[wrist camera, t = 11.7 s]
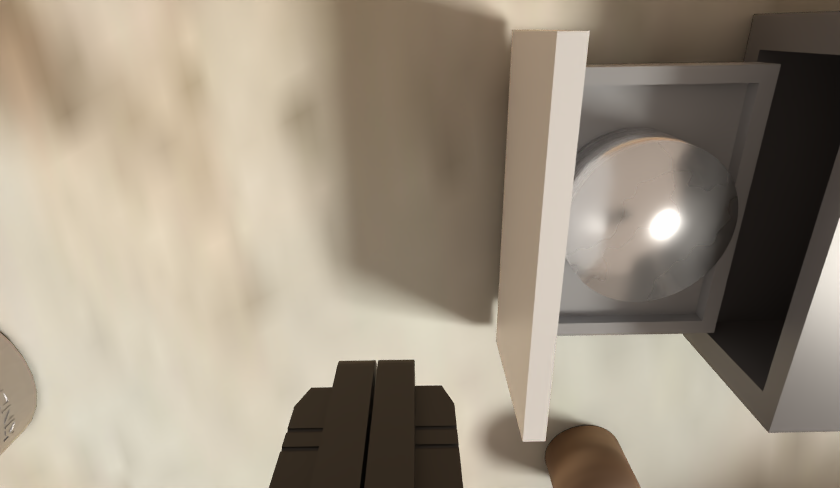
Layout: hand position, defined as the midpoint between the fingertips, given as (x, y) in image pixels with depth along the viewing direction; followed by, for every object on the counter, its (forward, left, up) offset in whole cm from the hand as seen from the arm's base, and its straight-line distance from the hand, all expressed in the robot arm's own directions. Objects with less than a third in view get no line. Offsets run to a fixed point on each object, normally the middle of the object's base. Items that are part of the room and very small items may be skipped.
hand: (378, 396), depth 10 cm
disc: (+9, 0, -11) cm, 14 cm away
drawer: (+9, 0, -12) cm, 15 cm away
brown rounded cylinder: (+9, -14, -12) cm, 21 cm away
